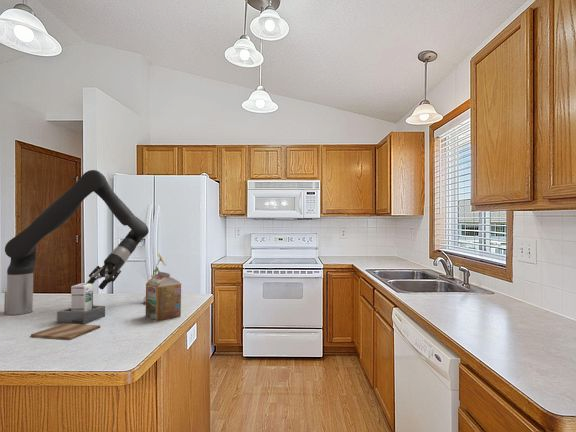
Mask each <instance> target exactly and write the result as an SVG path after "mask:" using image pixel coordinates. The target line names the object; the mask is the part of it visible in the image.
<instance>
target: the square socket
mask: <svg viewBox="0 0 576 432" xmlns="http://www.w3.org/2000/svg"><path fill="white" fill-rule="evenodd" d="M56 313H57V314H56V323H57V324H63V323H70V324H85V325H88V324H89V323H92V322H95V321H97V320H100V319H102V318H105V317H106V305H96V304H95V305H94V304H93V309H91V310H88V311H85V312H75V311H71V307H68V308H65V309H60V310H58V311H56ZM94 320H95V321H94Z"/></svg>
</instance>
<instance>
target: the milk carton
mask: <svg viewBox="0 0 576 432" xmlns="http://www.w3.org/2000/svg"><path fill="white" fill-rule="evenodd" d="M156 274H157V275H156V276H154V277H153V278H152V277H151V278H150V280H147V282H146V283H145V296H146V302H145V318H147V319H150V320H152V321H155V322H156V323H157V322H158V323H159V322H162V321H166V320H172V319H176V318H181V317H182V315H181V314H182V283H181V282H180V281H179V280H177V279H175V278H173V277H171V274H170V272H166V271H165V272H164V271H160V270H159V271H157V273H156Z"/></svg>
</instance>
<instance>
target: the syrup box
mask: <svg viewBox="0 0 576 432" xmlns="http://www.w3.org/2000/svg"><path fill="white" fill-rule="evenodd" d="M93 285H94V283H93V284H90V283H87V282H85V283H84V282H83V283H78V284H75V285H72V286H71V287H70V288H71V289H70V290H71V291H70V292H71V293H70V295H71V296H70V299H71V301H70V303H71V304H70V305H71V306H70V308H71V311H75V312H85V311H88V310H91V309H93V305H94V286H93Z"/></svg>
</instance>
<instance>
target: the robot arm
mask: <svg viewBox="0 0 576 432" xmlns="http://www.w3.org/2000/svg"><path fill="white" fill-rule="evenodd" d="M92 193H95V194H96V195H97V196H98V197H99V198H100V199H101V200H102V201H103V202H104V203H105V205H106V206H107V207H108V208H109V210H110V212H111V213H112V214H113V215H114V217H115V218H116V219H117V221H118V222H120V224H121V225H123V226H124V227H125V226H127V227H128V228H129V229H130V230H129V232H128V233H127V235H126V236H125V237H124V238H123V239H122V240H121V241H120V243H118V245H117V246H116V247H115V248H114V249H113V250H112V251H111V252H110V253H109V255H107V257H106V258H105V259H104V261H103V265H102V266H99V265H97V266H96V267H95V268H94V269H93V270H92V271H91V272H90V273H89V274H88V277H89V279H88V281H87V282H86V283H90V284H93V285H94V283H95V282H96V281H97V280H99V279H100V280H101V279H102V278H104V279H103V280H102V281H101V282H100V283H99V285H98V288H99V289H100V290H104V289H105V288H106V287H107V286H108V284H109V283H113V282H115V281H116V279H117V278H118V277H119V275H120V274H121V273H122V270H121V269H122V267H123V266H124V265H125V263H126V262H127V261H128V260H129V258H130V256H131V255H132V254H133V252H134V251H135V250H136V249H137V246H138V244H139V243H140V242H142V240H143V239H145V238H146V237H147V235H149V227H148V225H147V224H146V223H145V222H144V221H143V220H142V219H140V218H139V217H138V216H136V215H135V214H134V213H133V212H132V211H131V210H130V208H129V207H128V206H127V205H126V204H125V203H124V202H123V201H122V200H121V199H120V198H119V197H118V195H117V194H116V193H115V192H114V190H113V189H112V187H111V186H110V184H109V182H108V181H107V178H106V176H105V175H104V174H103V173H102V172H100V171H99V170H96V169H91V170H88V171H85V172H84V173H83V174H82V175H81V177H79V179H77V181H76V182H75V183H74V184H73V185H72V186H71V187H70V188H69V189H68V190H67V191H66V192H64V193H63V194H62V195H61V196H60V197H59V198H57V199H56V200H54V202H52V204H50V205H49V206H48V207H47V208H46V209H44V211H42V212H41V213H40V214H39V215H38V216H37V217H36V218H35V219H34V220H33V221H32V222H31V223H30V225H28V226H27V227H26V228H24V229H23V230H22V231H21V232H19V233H18V234H17V235H15V236H13V238H11V239H10V240H8V241H7V243H6V244H5V247H4V253H5V254H6V256H7V257H8V258H10V262H9V265H8V267H7V270H6V291H4V302H3V303H4V305H3V307H4V311H3V314H6V315H8V316H18V315H25V314H28V313H29V314H30V313H31V312H33V309H34V308H33V306H34V305H33V304H34V303H33V301H34V271H35V270H34V268H35V266H36V256H37V246H36V245H37V244H38V243H39V242H40V241H41V240H42V239H43V238H44V237H46V236H47V235H49V234H50V233H52V232H54V231H55V230H56V229H58V228H59V227H61V226H63V224H65V223H66V221H68V220H69V219H70V218H71V217H72V216H73V215H74V214H75V213H76V212H77V210H78V208H79V207H80V205H81V204H82V202H83V201H84V200H85V199H86V198H87V197H88V196H90V194H92Z"/></svg>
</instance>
